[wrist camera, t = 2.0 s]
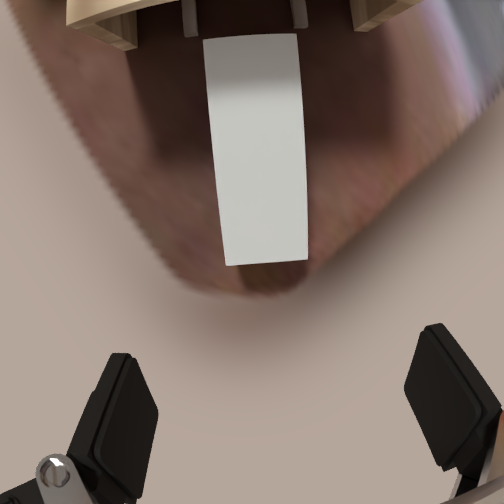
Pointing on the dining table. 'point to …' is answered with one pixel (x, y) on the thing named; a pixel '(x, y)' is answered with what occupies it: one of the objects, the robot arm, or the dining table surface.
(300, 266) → the dining table surface
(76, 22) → the beige wooden bench
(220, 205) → the white rectangular block
